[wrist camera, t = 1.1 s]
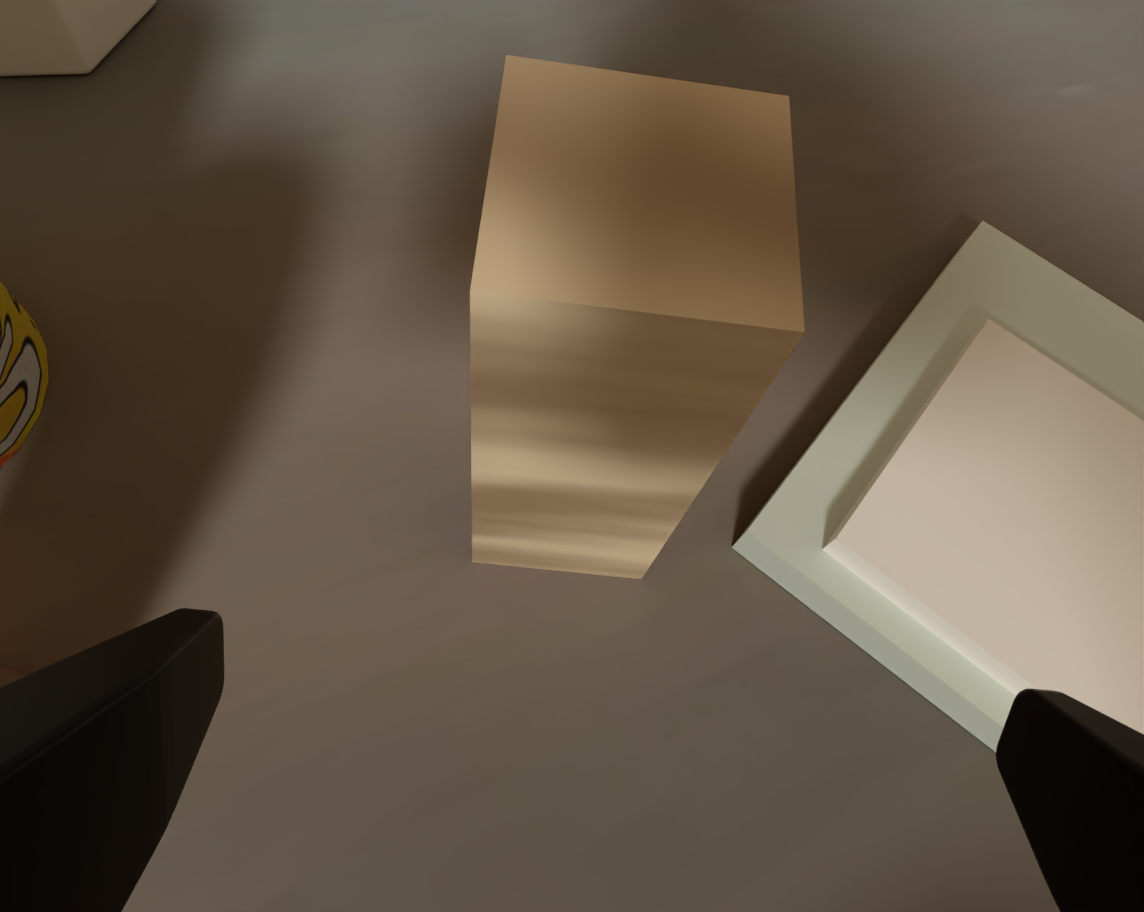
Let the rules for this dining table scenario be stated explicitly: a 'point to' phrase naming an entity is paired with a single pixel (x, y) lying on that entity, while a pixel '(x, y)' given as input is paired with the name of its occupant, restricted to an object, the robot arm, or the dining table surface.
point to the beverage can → (19, 374)
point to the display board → (982, 496)
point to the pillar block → (622, 307)
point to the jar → (63, 33)
